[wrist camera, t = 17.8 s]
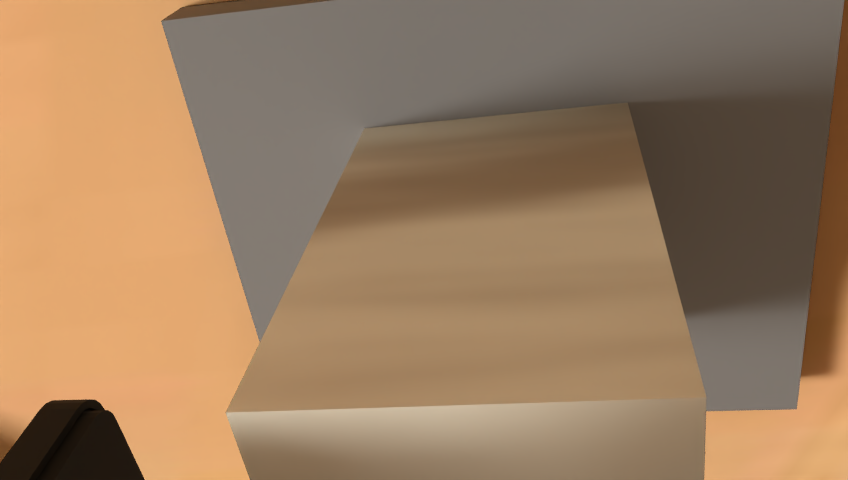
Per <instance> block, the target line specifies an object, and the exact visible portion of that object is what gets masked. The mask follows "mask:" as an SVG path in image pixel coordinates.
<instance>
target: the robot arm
mask: <svg viewBox="0 0 848 480" xmlns="http://www.w3.org/2000/svg"><path fill="white" fill-rule="evenodd" d="M0 480H145V479H144V477H143V475H142V473H141V471H140V469H139V467H138V465H137V463H136V461H135V458H134V456H133V454H132V452H131V450H130V448H129V446H128V444H127V442H126V439H125V437H124V435H123V433H122V431H121V429H120V427H119V425H118V423H117V420H116V418H115V417H114V415H113V414H112V413H111V412H110V411H108V410H105V409H104V408H103V407H102V405H101V404H100V403H99V402H98V401H96V400H56V401H50V402H48V403H46V404H45V405H44V406H43V407H42V408H41V409H40V410H39V412H38V413H37V414H36V416H35V417H34V418H33V420H32V421H31V422H30V424H29V425H28V426H27V428H26V429H25V430H24V432H23V433H22V435H21V436H20V437H19V439H18V440H17V441H16V443H15V444H14V445H13V447H12V448H11V449H10V451H9V452H8V453H7V455H6V456H5V457H4V459H3V460H2V461H1V463H0Z"/></svg>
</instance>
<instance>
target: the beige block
mask: <svg viewBox="0 0 848 480" xmlns="http://www.w3.org/2000/svg"><path fill="white" fill-rule="evenodd" d="M226 415H227V418H228V420H229V423H230V426H231V429H232V431H233V434H234V437H235V439H236V442H237V445H238V448H239V450H240V453H241V456H242V459H243V461H244V464H245V467H246V470H247V472H248V475H249V478H250V480H704V466H705V431H706V394H705V390H704V386H703V383H702V379H701V375H700V371H699V368H698V364H697V360H696V356H695V353H694V349H693V345H692V341H691V338H690V334H689V330H688V326H687V323H686V319H685V315H684V312H683V308H682V304H681V300H680V297H679V293H678V289H677V285H676V282H675V278H674V274H673V270H672V267H671V263H670V259H669V255H668V252H667V248H666V244H665V240H664V237H663V233H662V229H661V225H660V222H659V218H658V214H657V210H656V207H655V203H654V199H653V195H652V192H651V188H650V184H649V181H648V177H647V173H646V169H645V166H644V162H643V158H642V154H641V151H640V147H639V143H638V139H637V136H636V132H635V128H634V124H633V121H632V117H631V113H630V109H629V106H628V102H627V103H617V104H607V105H597V106H587V107H577V108H567V109H556V110H546V111H536V112H526V113H516V114H506V115H496V116H486V117H476V118H465V119H455V120H445V121H435V122H425V123H415V124H405V125H395V126H385V127H374V128H364V130H363V132H362V134H361V136H360V138H359V140H358V142H357V144H356V146H355V148H354V150H353V153H352V155H351V157H350V159H349V161H348V163H347V165H346V167H345V169H344V171H343V173H342V175H341V177H340V179H339V181H338V183H337V185H336V187H335V189H334V192H333V194H332V196H331V198H330V200H329V202H328V204H327V206H326V208H325V210H324V212H323V214H322V216H321V218H320V220H319V222H318V224H317V226H316V228H315V230H314V233H313V235H312V237H311V239H310V241H309V243H308V245H307V247H306V249H305V251H304V253H303V255H302V257H301V259H300V261H299V263H298V265H297V267H296V269H295V272H294V274H293V276H292V278H291V280H290V282H289V284H288V286H287V288H286V290H285V292H284V294H283V296H282V298H281V300H280V302H279V304H278V306H277V308H276V311H275V313H274V315H273V317H272V319H271V321H270V323H269V325H268V327H267V329H266V331H265V333H264V335H263V337H262V339H261V341H260V343H259V345H258V347H257V349H256V352H255V354H254V356H253V358H252V360H251V362H250V364H249V366H248V368H247V370H246V372H245V374H244V376H243V378H242V380H241V382H240V384H239V386H238V388H237V391H236V393H235V395H234V397H233V399H232V401H231V403H230V405H229V407H228V409H227V411H226Z"/></svg>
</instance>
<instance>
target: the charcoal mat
mask: <svg viewBox="0 0 848 480" xmlns="http://www.w3.org/2000/svg"><path fill="white" fill-rule="evenodd" d="M843 8H844V0H238V1H229V2H221V3H213V4H205V5H197V6H189V7H182V8H180V9H179V10H177V11H176V12H174V13H173V14H171V15H170V16H168V17H166V18H165V19H163V20H162V21H161V22H162V25H163V28H164V32H165V35H166V38H167V41H168V45H169V48H170V51H171V54H172V58H173V61H174V64H175V67H176V71H177V74H178V77H179V81H180V84H181V87H182V90H183V94H184V97H185V100H186V103H187V107H188V110H189V113H190V116H191V120H192V123H193V126H194V129H195V133H196V136H197V139H198V142H199V146H200V149H201V152H202V155H203V159H204V162H205V165H206V169H207V172H208V175H209V178H210V182H211V185H212V188H213V191H214V195H215V198H216V201H217V204H218V208H219V211H220V214H221V217H222V221H223V224H224V227H225V230H226V234H227V237H228V240H229V243H230V247H231V250H232V253H233V256H234V260H235V263H236V266H237V270H238V273H239V276H240V279H241V283H242V286H243V289H244V292H245V296H246V299H247V302H248V305H249V309H250V312H251V315H252V318H253V322H254V325H255V328H256V331H257V335H258V338H259V341H261V339H262V337H263V335H264V333H265V331H266V329H267V327H268V325H269V323H270V321H271V319H272V317H273V315H274V313H275V311H276V308H277V306H278V304H279V302H280V300H281V298H282V296H283V294H284V292H285V290H286V288H287V286H288V284H289V282H290V280H291V278H292V276H293V274H294V272H295V269H296V267H297V265H298V263H299V261H300V259H301V257H302V255H303V253H304V251H305V249H306V247H307V245H308V243H309V241H310V239H311V237H312V235H313V233H314V230H315V228H316V226H317V224H318V222H319V220H320V218H321V216H322V214H323V212H324V210H325V208H326V206H327V204H328V202H329V200H330V198H331V196H332V194H333V192H334V189H335V187H336V185H337V183H338V181H339V179H340V177H341V175H342V173H343V171H344V169H345V167H346V165H347V163H348V161H349V159H350V157H351V155H352V153H353V150H354V148H355V146H356V144H357V142H358V140H359V138H360V136H361V134H362V132H363V130H364V128H374V127H385V126H395V125H405V124H415V123H425V122H435V121H445V120H455V119H465V118H476V117H486V116H496V115H506V114H516V113H526V112H536V111H546V110H556V109H567V108H577V107H587V106H597V105H607V104H617V103H627V102H628V106H629V109H630V113H631V117H632V121H633V124H634V128H635V132H636V136H637V139H638V143H639V147H640V151H641V154H642V158H643V162H644V166H645V169H646V173H647V177H648V181H649V184H650V188H651V192H652V195H653V199H654V203H655V207H656V210H657V214H658V218H659V222H660V225H661V229H662V233H663V237H664V240H665V244H666V248H667V252H668V255H669V259H670V263H671V267H672V270H673V274H674V278H675V282H676V285H677V289H678V293H679V297H680V300H681V304H682V308H683V312H684V315H685V319H686V323H687V326H688V330H689V334H690V338H691V341H692V345H693V349H694V353H695V356H696V360H697V364H698V368H699V371H700V375H701V379H702V383H703V386H704V390H705V394H706V411H735V410H782V409H797V402H798V394H799V385H800V377H801V368H802V360H803V351H804V342H805V334H806V325H807V317H808V308H809V300H810V291H811V282H812V274H813V265H814V257H815V248H816V240H817V231H818V222H819V214H820V205H821V197H822V188H823V180H824V171H825V162H826V154H827V145H828V137H829V128H830V120H831V111H832V102H833V94H834V85H835V77H836V68H837V60H838V51H839V42H840V34H841V25H842V17H843Z"/></svg>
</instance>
